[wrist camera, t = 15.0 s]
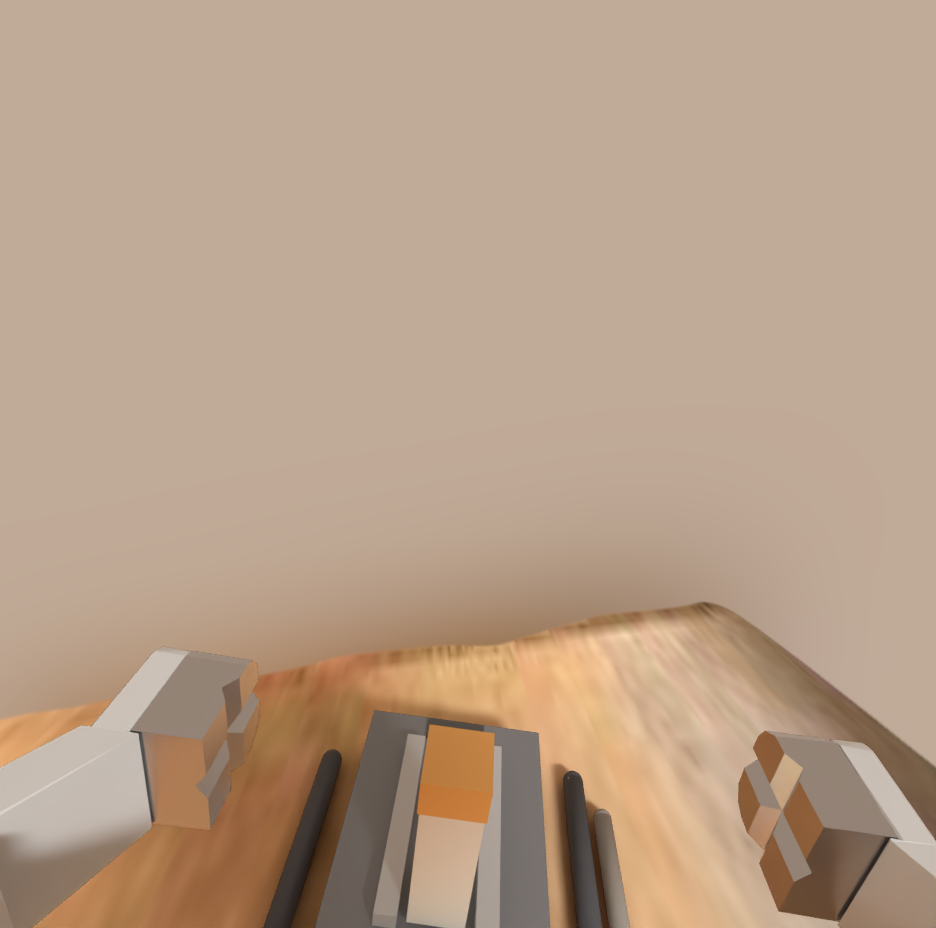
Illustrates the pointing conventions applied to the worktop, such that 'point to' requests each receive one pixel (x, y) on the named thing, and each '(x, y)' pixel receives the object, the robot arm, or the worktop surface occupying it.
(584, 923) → the cords
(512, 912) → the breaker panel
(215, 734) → the robot arm
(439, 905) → the lever
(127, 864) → the worktop surface
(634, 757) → the worktop surface
